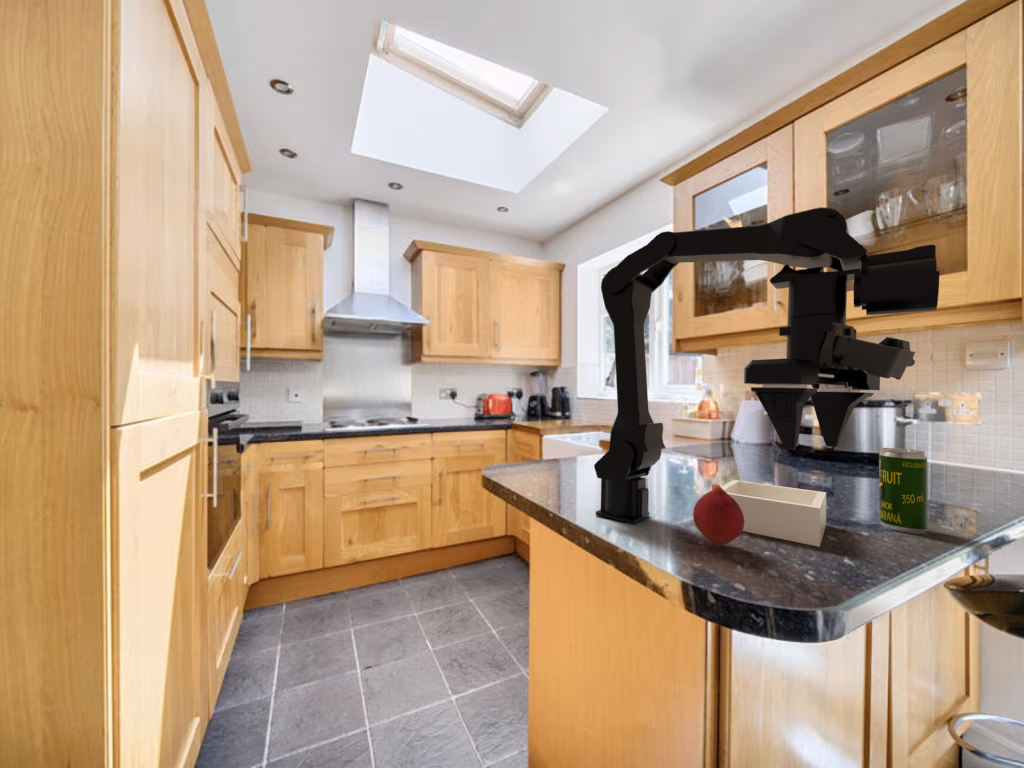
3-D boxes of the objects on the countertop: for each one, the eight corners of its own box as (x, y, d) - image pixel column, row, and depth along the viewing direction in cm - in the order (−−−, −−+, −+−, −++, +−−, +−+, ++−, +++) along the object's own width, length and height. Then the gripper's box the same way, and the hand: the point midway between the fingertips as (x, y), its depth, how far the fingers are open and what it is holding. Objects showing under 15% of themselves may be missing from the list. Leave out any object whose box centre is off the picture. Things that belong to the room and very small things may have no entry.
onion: (736, 541, 55) (737, 481, 55) (749, 557, 49) (749, 490, 50) (690, 536, 56) (690, 478, 57) (697, 551, 51) (697, 486, 51)
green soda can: (901, 523, 66) (901, 447, 66) (938, 534, 60) (937, 452, 61) (869, 523, 65) (869, 447, 66) (904, 534, 60) (903, 451, 60)
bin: (712, 524, 62) (713, 491, 62) (732, 508, 72) (733, 479, 72) (819, 546, 54) (819, 508, 54) (826, 524, 64) (826, 492, 64)
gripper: (858, 295, 38) (853, 463, 38) (938, 319, 47) (935, 455, 47) (743, 313, 48) (738, 446, 48) (827, 329, 57) (823, 442, 56)
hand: (811, 447), depth 49 cm, fingers open, 9 cm apart
